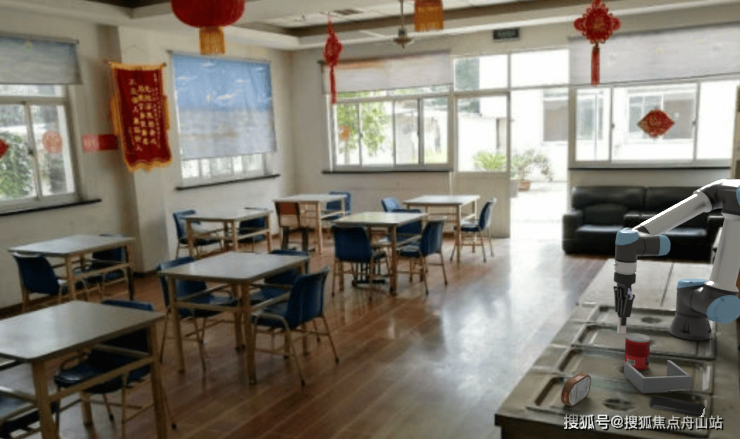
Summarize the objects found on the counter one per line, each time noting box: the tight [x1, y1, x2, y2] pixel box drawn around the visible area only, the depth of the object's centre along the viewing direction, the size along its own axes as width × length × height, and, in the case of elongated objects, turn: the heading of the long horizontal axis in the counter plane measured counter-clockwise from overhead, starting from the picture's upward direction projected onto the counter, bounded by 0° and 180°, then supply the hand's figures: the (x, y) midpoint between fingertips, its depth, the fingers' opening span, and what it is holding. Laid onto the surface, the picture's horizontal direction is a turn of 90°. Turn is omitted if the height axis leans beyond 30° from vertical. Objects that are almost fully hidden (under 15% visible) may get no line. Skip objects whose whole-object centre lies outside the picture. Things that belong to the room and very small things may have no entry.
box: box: [623, 359, 693, 394], centre depth 198 cm, size 16×14×5 cm
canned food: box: [624, 332, 651, 371], centre depth 212 cm, size 8×8×11 cm
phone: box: [649, 394, 706, 418], centre depth 182 cm, size 8×1×15 cm
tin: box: [560, 371, 592, 407], centre depth 187 cm, size 15×3×8 cm, turn 133°
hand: (621, 333), depth 223 cm, fingers closed
